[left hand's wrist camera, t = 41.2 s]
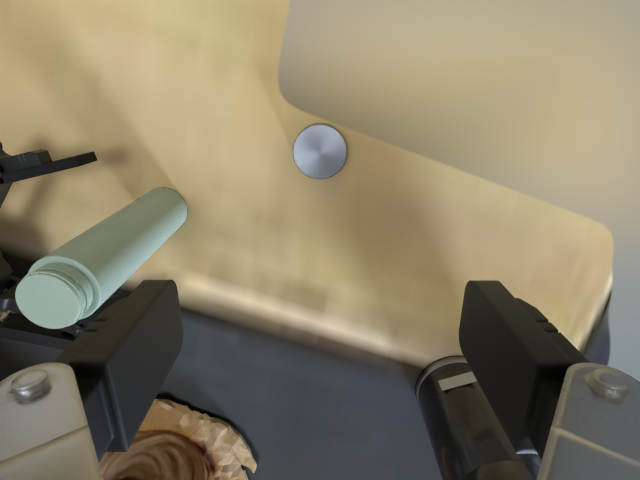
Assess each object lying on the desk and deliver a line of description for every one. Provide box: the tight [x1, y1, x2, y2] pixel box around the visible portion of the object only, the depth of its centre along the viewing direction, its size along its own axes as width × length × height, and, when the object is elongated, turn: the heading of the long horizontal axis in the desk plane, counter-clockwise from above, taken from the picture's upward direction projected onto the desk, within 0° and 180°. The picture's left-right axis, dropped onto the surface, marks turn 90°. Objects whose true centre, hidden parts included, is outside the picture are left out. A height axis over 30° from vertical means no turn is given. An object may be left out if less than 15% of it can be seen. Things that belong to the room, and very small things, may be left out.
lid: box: [293, 123, 347, 179], centre depth 38 cm, size 5×5×2 cm
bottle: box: [15, 188, 187, 329], centre depth 32 cm, size 4×4×19 cm
